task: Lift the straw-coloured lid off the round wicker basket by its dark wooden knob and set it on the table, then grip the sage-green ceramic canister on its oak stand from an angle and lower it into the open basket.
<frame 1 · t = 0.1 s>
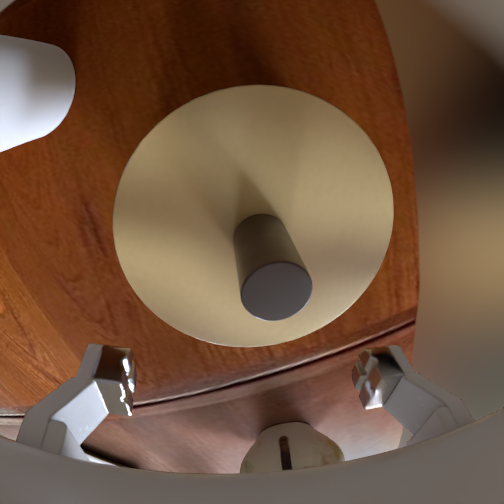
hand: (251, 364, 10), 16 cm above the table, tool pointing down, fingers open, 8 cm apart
white cylinder: (34, 91, 18), on the table
basket lid: (258, 233, 16), point 9 cm above the table, touching basket
sugar bowl: (285, 434, 42), on the table
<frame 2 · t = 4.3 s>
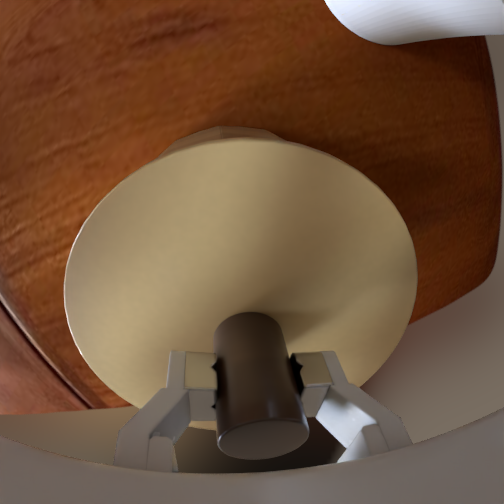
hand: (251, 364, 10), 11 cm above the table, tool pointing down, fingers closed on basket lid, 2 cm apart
basket: (231, 229, 20), on the table
basket lid: (246, 327, 12), point 10 cm above the table, touching basket, gripper
when the fingers open (2 cm above the table, at t = 12.3 s): basket lid stays where it is, point 1 cm above the table.
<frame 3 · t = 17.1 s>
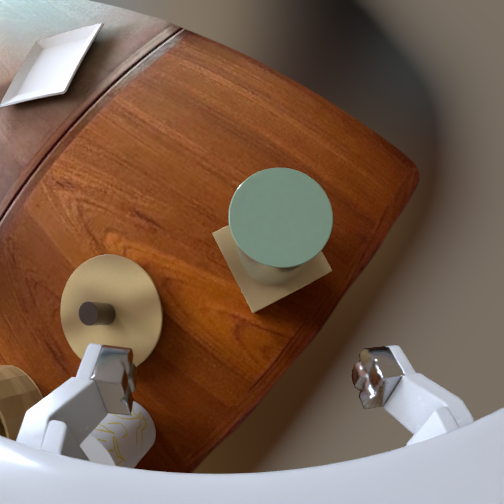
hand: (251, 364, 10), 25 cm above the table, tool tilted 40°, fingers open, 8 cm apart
basket: (18, 407, 33), on the table
white cylinder: (126, 426, 33), on the table
basket lid: (108, 313, 35), point 1 cm above the table
stand: (269, 264, 36), on the table
canister: (272, 251, 28), point 8 cm above the table, touching stand
plate: (52, 68, 44), on the table
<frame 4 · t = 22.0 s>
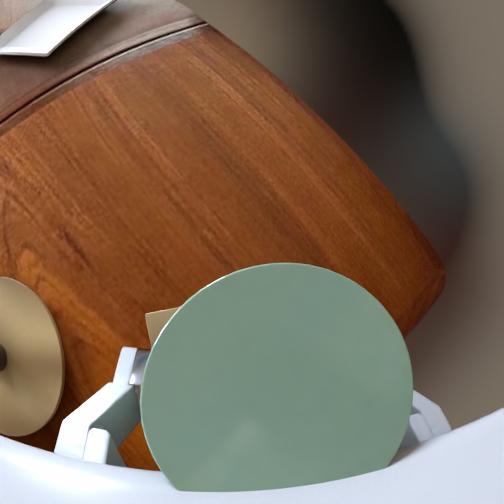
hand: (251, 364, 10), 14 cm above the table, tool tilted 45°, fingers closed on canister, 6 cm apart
basket lid: (0, 357, 19), point 1 cm above the table
stand: (224, 364, 23), on the table
canister: (234, 371, 16), point 8 cm above the table, touching gripper, stand
plate: (51, 28, 33), on the table
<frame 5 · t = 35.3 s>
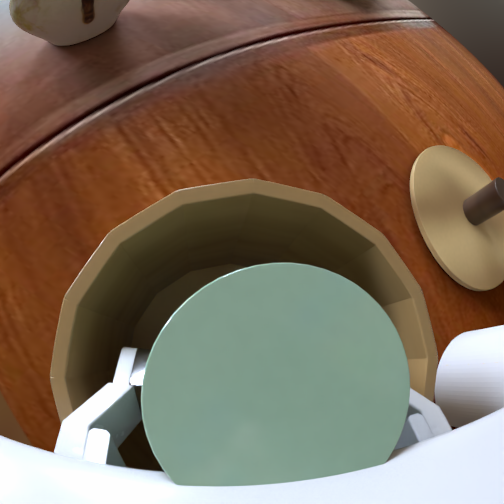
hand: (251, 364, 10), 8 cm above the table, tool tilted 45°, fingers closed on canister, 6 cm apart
basket: (232, 366, 18), on the table
white cylinder: (466, 379, 20), on the table
basket lid: (467, 214, 24), point 1 cm above the table
sugar bowl: (83, 27, 25), on the table
canister: (234, 370, 16), point 2 cm above the table, touching gripper
when the fingers open (9 cm above the table, at t = 43.6 s): canister drops 2 cm, resting on basket.
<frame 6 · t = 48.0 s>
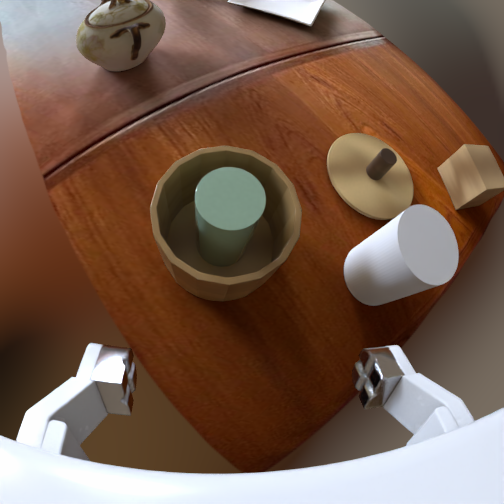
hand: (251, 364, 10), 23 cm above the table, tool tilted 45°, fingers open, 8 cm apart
basket: (220, 243, 36), on the table
white cylinder: (371, 274, 38), on the table
basket lid: (371, 174, 42), point 1 cm above the table
stand: (459, 187, 46), on the table
sugar bowl: (124, 57, 44), on the table
canister: (221, 241, 36), resting on basket
plate: (278, 5, 56), on the table
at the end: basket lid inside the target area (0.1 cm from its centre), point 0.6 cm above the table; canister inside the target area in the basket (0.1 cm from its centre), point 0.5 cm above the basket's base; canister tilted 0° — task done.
